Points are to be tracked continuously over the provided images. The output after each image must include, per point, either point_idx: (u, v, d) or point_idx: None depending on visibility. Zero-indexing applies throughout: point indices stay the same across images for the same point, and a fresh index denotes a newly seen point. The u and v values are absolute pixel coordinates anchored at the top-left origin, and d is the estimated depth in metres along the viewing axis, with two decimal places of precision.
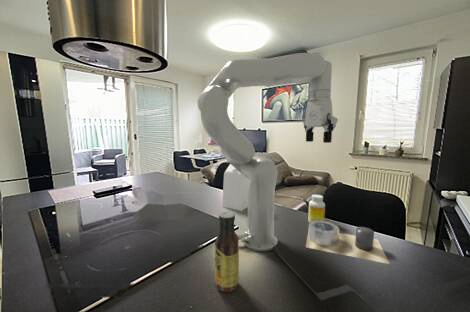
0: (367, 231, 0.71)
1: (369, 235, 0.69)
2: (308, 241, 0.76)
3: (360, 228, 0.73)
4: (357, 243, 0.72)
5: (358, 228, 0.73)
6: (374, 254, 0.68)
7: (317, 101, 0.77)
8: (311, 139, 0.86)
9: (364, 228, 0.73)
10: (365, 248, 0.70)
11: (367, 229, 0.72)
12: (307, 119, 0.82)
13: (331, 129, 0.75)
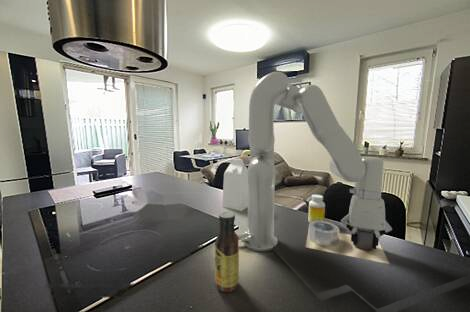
0: (367, 231, 0.71)
1: (369, 235, 0.69)
2: (308, 241, 0.76)
3: (360, 228, 0.73)
4: (357, 243, 0.72)
5: (358, 228, 0.73)
6: (374, 254, 0.68)
7: (376, 203, 0.67)
8: None
9: None
10: (365, 248, 0.70)
11: (367, 229, 0.72)
12: (356, 219, 0.70)
13: None
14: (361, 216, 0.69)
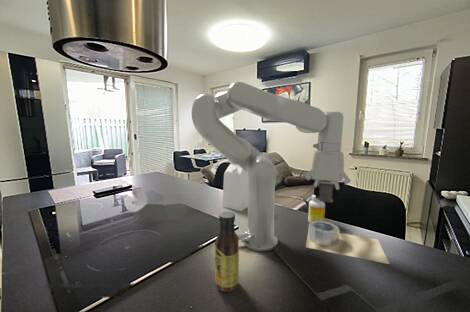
0: (328, 184, 0.74)
1: (329, 187, 0.72)
2: (308, 241, 0.76)
3: (322, 182, 0.76)
4: (318, 196, 0.75)
5: (320, 182, 0.76)
6: (374, 254, 0.68)
7: (335, 155, 0.70)
8: None
9: (326, 182, 0.76)
10: (325, 199, 0.73)
11: (329, 183, 0.75)
12: (317, 172, 0.73)
13: None
14: (322, 168, 0.72)
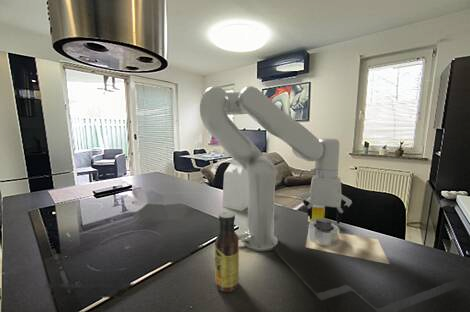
0: (325, 222, 0.76)
1: (326, 225, 0.74)
2: (308, 241, 0.76)
3: (320, 219, 0.78)
4: None
5: (318, 219, 0.78)
6: (374, 254, 0.68)
7: (332, 181, 0.72)
8: None
9: (323, 219, 0.78)
10: None
11: (326, 220, 0.77)
12: (315, 197, 0.74)
13: None
14: (319, 194, 0.74)
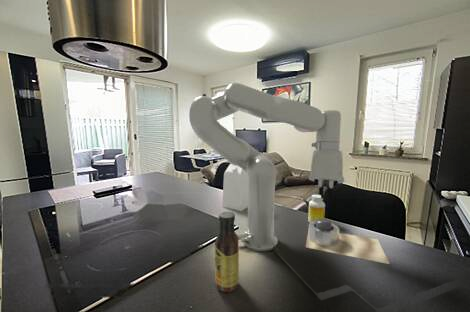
0: (325, 222, 0.76)
1: (326, 225, 0.74)
2: (308, 241, 0.76)
3: (320, 219, 0.78)
4: None
5: (318, 219, 0.78)
6: (374, 254, 0.68)
7: (334, 153, 0.71)
8: None
9: (323, 219, 0.78)
10: None
11: (326, 220, 0.77)
12: (316, 170, 0.73)
13: None
14: (321, 167, 0.73)
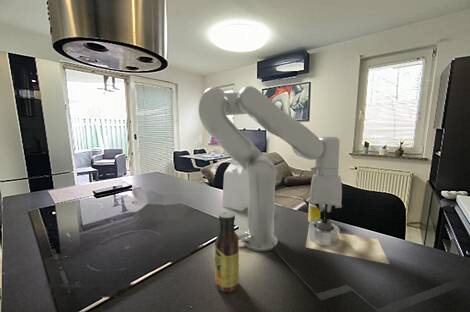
0: None
1: (326, 225, 0.74)
2: (308, 241, 0.76)
3: (320, 219, 0.78)
4: None
5: (318, 219, 0.78)
6: (374, 254, 0.68)
7: (333, 179, 0.72)
8: None
9: (324, 219, 0.78)
10: None
11: None
12: (315, 195, 0.74)
13: None
14: (320, 192, 0.73)
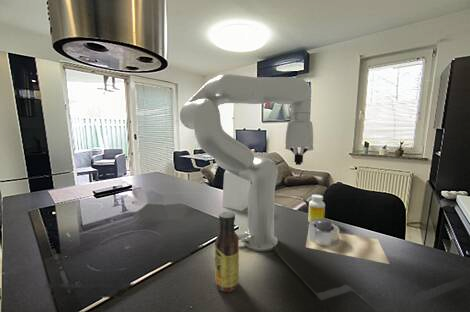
0: (325, 222, 0.76)
1: (326, 225, 0.74)
2: (308, 241, 0.76)
3: (320, 219, 0.78)
4: None
5: (318, 219, 0.78)
6: (374, 254, 0.68)
7: (304, 123, 0.80)
8: None
9: (324, 219, 0.78)
10: None
11: (326, 220, 0.77)
12: (289, 139, 0.83)
13: None
14: (293, 136, 0.82)
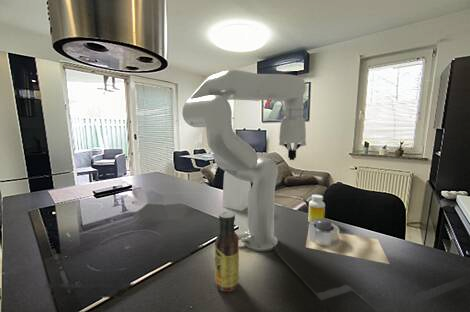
0: (325, 222, 0.76)
1: (326, 225, 0.74)
2: (308, 241, 0.76)
3: (320, 219, 0.78)
4: None
5: (318, 219, 0.78)
6: (374, 254, 0.68)
7: (297, 119, 0.83)
8: None
9: (323, 219, 0.78)
10: None
11: (326, 220, 0.77)
12: (283, 135, 0.85)
13: (297, 148, 0.87)
14: (287, 132, 0.85)
